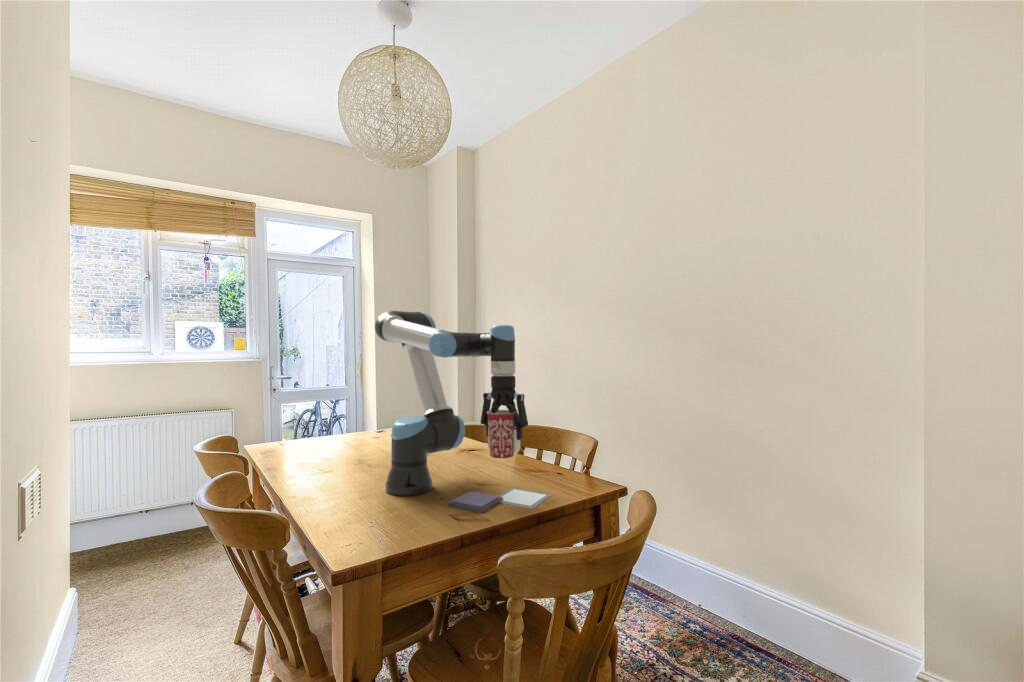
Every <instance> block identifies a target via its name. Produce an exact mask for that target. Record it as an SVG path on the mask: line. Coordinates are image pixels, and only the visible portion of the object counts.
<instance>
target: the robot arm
mask: <svg viewBox="0 0 1024 682" xmlns="http://www.w3.org/2000/svg"><path fill="white" fill-rule="evenodd" d="M374 332H375V333H376V335H377V336H378V338H380V340H382V341H384V342H388V343H393V344H395V343H401V347H402V349H403V351H404V352H405V353H408V356H409V357H408V358H409V360H410V364H411V365H410V366H411V368H412V372H413V375H414V376H413V377H414V379H415V383H416V386H417V391H418V394H419V398H420V403H421V407H422V409H423V414H422V415H413V416H406V417H403V418H402V417H401V418H399V419H397V420H396V421H394V422H393V424H392V425H391V433H390V438H391V457H390V458H391V460H390V463H391V464H390V466H391V467H390V469H389V473H388V475H387V480H386V482H385V492H386V493H388V494H390V495H394V496H400V497H401V496H403V497H405V496H407V497H409V496H416V495H422V494H425V493H428V492H429V491H431V490H432V489H433V478H431V474H430V473H431V472H430V470H429V467H428V455H429V454H433V453H438V452H443V451H450V450H452V449H456V448H458V447H460V445H461V444H462V443H463V442H464V441H463V440H464V439H465V433H466V427H465V426H466V425H465V422H464V420H463V418H461V417H460V416H459V415H456V414H455V413H454V409H453V408H452V407H451V406H449V405H448V403H447V400H446V397H445V393H444V390H443V387H442V386H443V385H442V382H441V379H440V376H439V372H438V368H437V365H436V361H435V357H439V358H455V357H475V358H476V357H490V373H491V375H492V376H491V377H490V387H491V392H483V394H482V397H483V405H482V408H481V409H482V411H481V416H480V425H483V426H485V428H486V429H485V430H486V431H485V432H486V433H485V435H486V437H487V438H488V439H487V440H488V441H487V442H488V443H487V445H488V446H487V447H488V449H490V444H489V429H488V415H487V412H488V411H492V413H493V414H495V413H496V412H497V411H498V410H500V407H501V406H503V407H506V410H509V412H510V413H514V412H516V414H515V415H514V425H515V429H514V431H513V432H514V452H517V451H518V452H519V451H520V450H521V440H523V428H525V427H528V426H529V421H528V416H527V411H526V405H525V394H524V393H517V392H516V375H515V374H516V335H515V327H514V326H513V325H510V324H509V325H508V324H507V325H506V324H503V325H502V324H497V325H491V327H490V331H489V332H455V331H448V330H444V329H440V328H437V327H436V322H435V321H434V319H433V317H432V316H431V315H430V314H427V313H425V312H420V311H402V310H401V311H399V310H389V311H385V312H382V313H381V314H380V315H378V317H377V318H376V321H375V322H374ZM492 399H493V401H492ZM514 400H515V401H516V403H515V401H514Z"/></svg>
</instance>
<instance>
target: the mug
mask: <svg viewBox="0 0 1024 682" xmlns="http://www.w3.org/2000/svg"><path fill="white" fill-rule="evenodd" d="M515 414H516V412H514V413H510V412H509V410H508V409H498V411H497V412H496V413H495V414H493V413H492V411H491V410H490V411H488V412H487V415H488V429H489V444H490V448H489V456H490V457H491V458H494V459H510V458H513V457H514V456H515V451H514V432H513V431H514V429H515V428H516V427H515V425H514V415H515Z"/></svg>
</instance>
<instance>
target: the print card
mask: <svg viewBox="0 0 1024 682" xmlns="http://www.w3.org/2000/svg"><path fill="white" fill-rule="evenodd" d="M498 496H499V497H503V500H501V501H500V503H501V504H504V505H510V506H516V507H519V508H520V507H522V508H526V509H532V510H533V509H534V508H535V507H537V506H539V505H540V504H542V503H543V502H544V501H546V500H547V499H548V498H550V497H551V496H552V494H550V493H547V492H546V493H545V492H540V491H533V490H528V489H524V488H523V489H522V488H516V487H511V488H509V489H508V490H507V491H505V492H503V493H501V494H500V495H498ZM500 503H499V504H500Z"/></svg>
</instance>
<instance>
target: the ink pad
mask: <svg viewBox="0 0 1024 682" xmlns="http://www.w3.org/2000/svg"><path fill="white" fill-rule="evenodd" d="M501 500H503V497H499V495H492V494H487V493H482V492H477V491H468V492H466V493H465V494H462V495H461V496H459V497H457V498H455V499H453V500H450V501H449V502H448V503H447V506H448V507H452V508H456V509H460V510H461V509H462V510H464V511H465V510H467V511H471V512H475V513H481V514H483V513H485V512H487V511H488V510H490V509H491V508H494V507H495V506H497V505H498V504H500V501H501Z"/></svg>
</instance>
